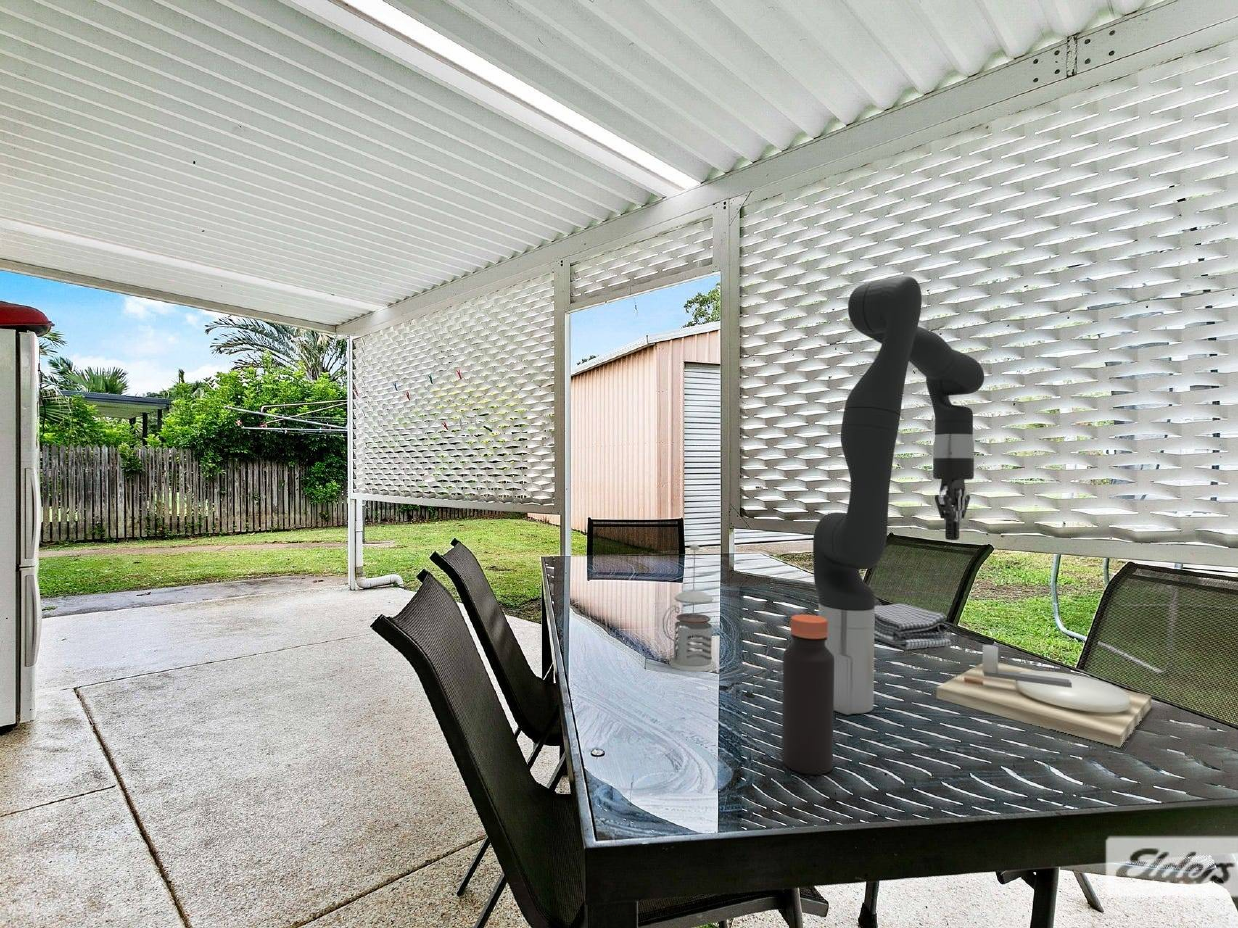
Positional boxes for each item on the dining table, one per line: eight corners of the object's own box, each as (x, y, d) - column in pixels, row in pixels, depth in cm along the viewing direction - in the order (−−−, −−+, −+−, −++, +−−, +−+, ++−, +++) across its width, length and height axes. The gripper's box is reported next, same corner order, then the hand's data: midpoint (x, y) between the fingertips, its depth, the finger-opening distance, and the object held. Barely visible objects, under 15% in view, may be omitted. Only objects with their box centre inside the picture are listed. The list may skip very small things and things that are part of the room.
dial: (1155, 714, 98) (1155, 672, 98) (1021, 708, 100) (1021, 667, 100) (1086, 680, 114) (1087, 644, 114) (971, 676, 116) (972, 640, 116)
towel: (896, 628, 163) (896, 599, 163) (954, 647, 145) (954, 614, 146) (849, 632, 158) (849, 601, 158) (903, 652, 141) (903, 618, 141)
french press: (725, 668, 125) (727, 546, 126) (674, 674, 121) (676, 547, 121) (701, 655, 134) (703, 540, 135) (653, 660, 130) (655, 542, 131)
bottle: (772, 763, 85) (774, 617, 85) (797, 748, 89) (799, 610, 90) (817, 781, 80) (820, 627, 80) (841, 764, 84) (843, 619, 85)
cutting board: (1119, 748, 91) (1119, 731, 91) (936, 698, 111) (936, 683, 111) (1151, 707, 108) (1151, 692, 108) (987, 669, 128) (987, 657, 128)
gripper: (960, 455, 121) (959, 543, 121) (984, 457, 130) (983, 539, 130) (921, 455, 127) (920, 539, 127) (946, 457, 136) (945, 536, 135)
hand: (952, 539), depth 128 cm, fingers closed
